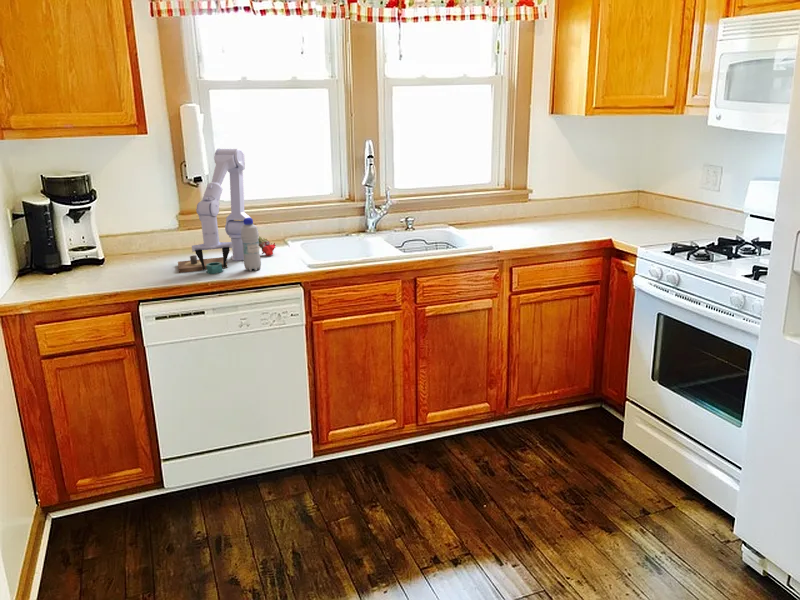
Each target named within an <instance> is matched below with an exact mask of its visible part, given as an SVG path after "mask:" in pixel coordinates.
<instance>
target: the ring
mask: <svg viewBox="0 0 800 600" xmlns="http://www.w3.org/2000/svg"><path fill="white" fill-rule="evenodd" d="M206 267H207V270H206V273H207V274H208V275H209V274H210V275H212V274H213V275H214V274H215V275H216V274H219V273H223V271H224V270H223V268H222V263H220V262H212V263H208V264H206Z"/></svg>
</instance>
